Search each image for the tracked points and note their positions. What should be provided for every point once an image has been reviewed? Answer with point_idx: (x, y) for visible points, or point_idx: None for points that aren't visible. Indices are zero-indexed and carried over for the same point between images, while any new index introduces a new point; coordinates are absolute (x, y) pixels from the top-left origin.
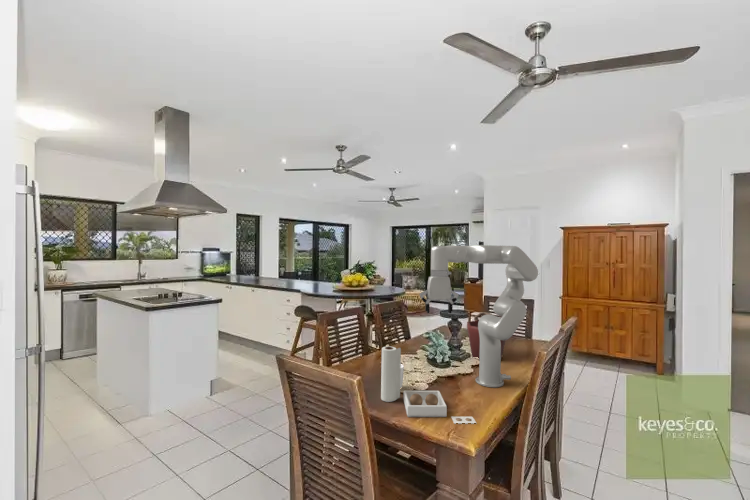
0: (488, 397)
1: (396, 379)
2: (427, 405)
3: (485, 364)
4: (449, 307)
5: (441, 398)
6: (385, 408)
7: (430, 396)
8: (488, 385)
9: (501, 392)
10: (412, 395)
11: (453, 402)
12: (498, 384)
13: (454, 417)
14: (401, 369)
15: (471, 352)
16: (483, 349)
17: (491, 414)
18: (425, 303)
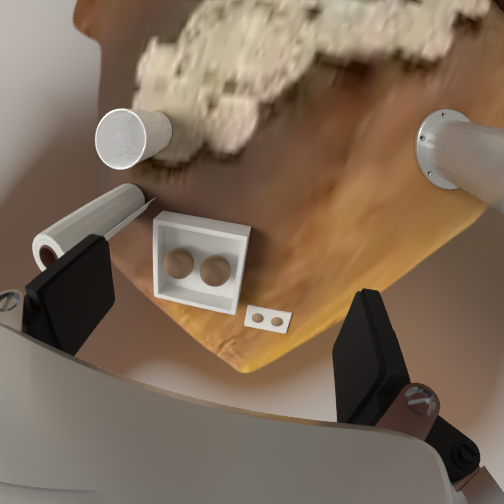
0: (388, 236)
1: (121, 228)
2: (194, 302)
3: (456, 178)
4: (339, 392)
5: (237, 280)
6: (124, 242)
7: (206, 282)
8: (429, 180)
9: (436, 216)
10: (165, 267)
11: (284, 244)
12: (453, 186)
13: (253, 309)
14: (138, 161)
15: None
16: (482, 183)
17: (338, 309)
18: (19, 300)
